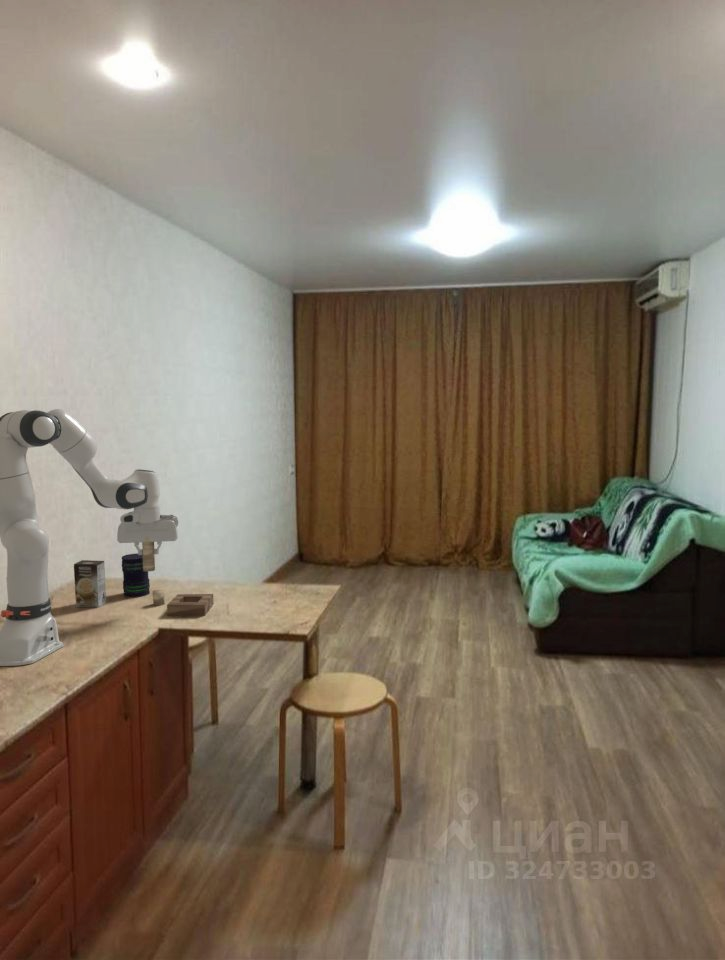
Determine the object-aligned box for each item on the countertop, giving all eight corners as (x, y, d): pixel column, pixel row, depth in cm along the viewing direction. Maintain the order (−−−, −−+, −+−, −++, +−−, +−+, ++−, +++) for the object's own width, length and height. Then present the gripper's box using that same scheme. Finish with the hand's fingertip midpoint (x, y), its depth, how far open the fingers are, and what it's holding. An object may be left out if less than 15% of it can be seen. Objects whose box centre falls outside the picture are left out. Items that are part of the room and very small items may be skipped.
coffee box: (75, 607, 249) (72, 564, 247) (83, 602, 255) (81, 560, 254) (99, 607, 248) (96, 564, 246) (107, 602, 254) (104, 560, 253)
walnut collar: (204, 615, 237) (204, 604, 236) (167, 616, 237) (166, 604, 236) (213, 604, 249) (213, 593, 249) (178, 605, 250) (177, 594, 249)
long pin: (151, 571, 239) (150, 537, 238) (140, 571, 240) (139, 537, 239) (157, 569, 243) (156, 535, 242) (147, 568, 244) (145, 535, 243)
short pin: (162, 605, 249) (162, 592, 249) (151, 605, 249) (151, 592, 249) (166, 602, 253) (165, 589, 253) (155, 602, 253) (154, 589, 253)
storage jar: (139, 598, 259) (137, 559, 258) (117, 596, 262) (115, 558, 261) (155, 591, 269) (153, 554, 267) (134, 589, 272) (132, 552, 270)
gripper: (178, 513, 245) (179, 551, 246) (118, 515, 241) (119, 553, 242) (177, 515, 238) (178, 554, 240) (115, 517, 235) (117, 557, 236)
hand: (148, 554), depth 241 cm, fingers closed on long pin, 4 cm apart
